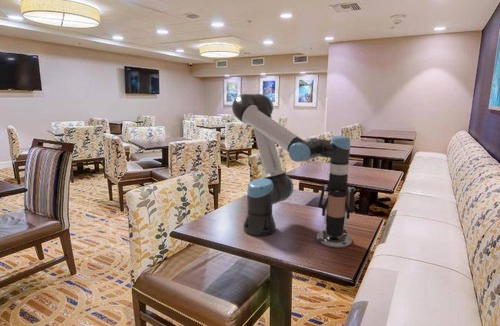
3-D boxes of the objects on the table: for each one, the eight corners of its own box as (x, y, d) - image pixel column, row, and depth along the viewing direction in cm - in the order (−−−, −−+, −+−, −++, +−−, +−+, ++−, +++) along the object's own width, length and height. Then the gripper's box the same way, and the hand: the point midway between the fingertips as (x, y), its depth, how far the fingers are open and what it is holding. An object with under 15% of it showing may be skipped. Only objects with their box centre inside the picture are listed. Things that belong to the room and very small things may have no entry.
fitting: (314, 244, 134) (315, 232, 133) (319, 225, 154) (320, 214, 153) (351, 250, 130) (352, 237, 129) (351, 229, 150) (352, 218, 149)
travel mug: (325, 235, 135) (328, 191, 131) (325, 228, 143) (327, 186, 139) (344, 237, 134) (347, 192, 130) (342, 230, 141) (346, 187, 137)
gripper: (312, 173, 132) (310, 224, 137) (364, 177, 126) (360, 230, 131) (314, 169, 139) (312, 218, 144) (364, 173, 133) (359, 223, 138)
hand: (335, 224), depth 138 cm, fingers closed on travel mug, 8 cm apart
